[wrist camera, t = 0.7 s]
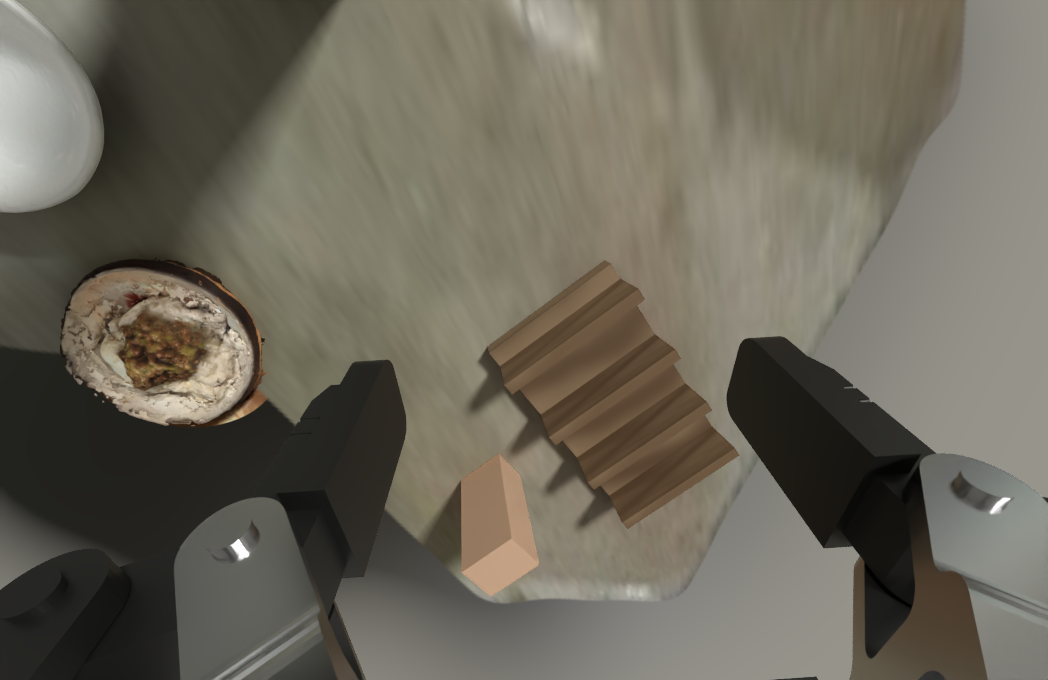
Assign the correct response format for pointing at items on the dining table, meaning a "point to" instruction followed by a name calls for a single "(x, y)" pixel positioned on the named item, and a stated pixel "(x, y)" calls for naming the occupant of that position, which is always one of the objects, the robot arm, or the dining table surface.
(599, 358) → the walnut rack
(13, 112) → the spoon rest
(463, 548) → the clay block
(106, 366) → the pie
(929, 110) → the dining table surface
